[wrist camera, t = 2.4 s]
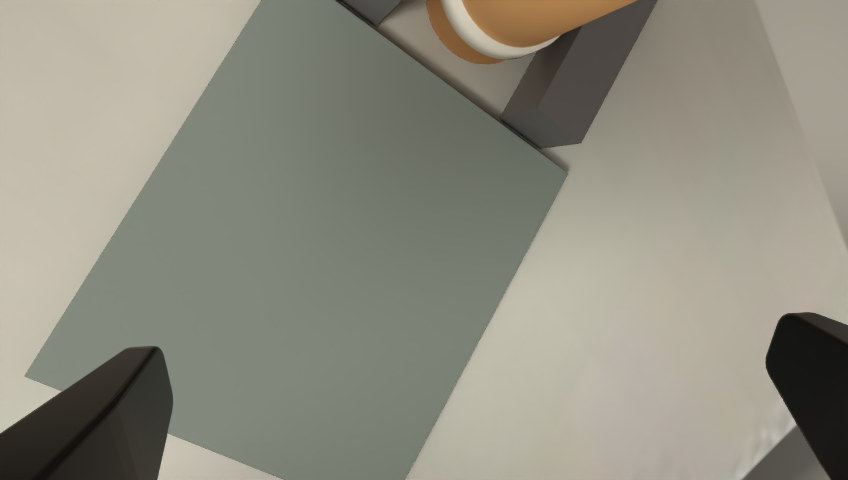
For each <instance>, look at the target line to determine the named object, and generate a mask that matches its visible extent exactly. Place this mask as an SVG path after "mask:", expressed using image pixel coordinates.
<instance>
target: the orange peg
mask: <svg viewBox="0 0 848 480" xmlns="http://www.w3.org/2000/svg"><path fill="white" fill-rule="evenodd" d="M635 1H637V0H426V5H427V11H428V15H429V18H430V21H431V24H432V26H433V28H434V30H435V32H436V34H437V35H438V37H439V38H440V40H441V41H442V42H443V43H444V45H445V46H446V47H447V48H448V49H449V50H451V51H452V52H453V53H454V54H456V55H457V56H459V57H460V58H462V59H464V60H467V61H470V62H472V63H477V64H494V63H498V62H501V61H503V60H505V59H516V58H520V57H523V56H526V55H528V54H530V53H533V52H535V51H537V50H540V49H542V48H544V47H546V46H548V45H549V44H551V43H553V42H554V41H555V40H556V39H557V38H558V37H559V36H560V35H561V34H564V33H566V32H568V31H570V30H573V29H575V28H577V27H579V26H582V25H584V24H586V23H588V22H590V21H593V20H595V19H597V18H599V17H602V16H604V15H606V14H608V13H611V12H613V11H615V10H617V9H620V8H622V7H624V6H626V5H628V4H631V3H633V2H635Z"/></svg>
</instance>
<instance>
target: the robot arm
mask: <svg viewBox="0 0 848 480" xmlns="http://www.w3.org/2000/svg"><path fill="white" fill-rule="evenodd" d="M766 369H767V372H768V374H769V376H770V378H771V380H772V382H773V383H774V385H775V387H776V389H777V390H778V392H779V394H780V396H781V397H782V399H783V401H784V403H785V404H786V406H787V408H788V410H789V411H790V413H791V415H792V417H793V418H794V420H795V422H796V424H797V425H798V427H799V429H800V431H801V432H802V434H803V436H804V438H805V439H806V441H807V443H808V445H809V446H810V448H811V450H812V451H813V453H814V455H815V456H816V458H817V460H818V462H819V463H820V465H821V466H822V468H823V469H824V471H825V472H826V474H827V475H828V477H829V478H830V480H848V325H846V324H843V323H840V322H838V321H835V320H832V319H830V318H827V317H824V316H822V315H819V314H816V313H811V312H804V313H788V314H785V315H783V316H782V317H781V318H780V319H779V321H778V323H777V326H776V329H775V332H774V335H773V337H772V340H771V343H770V346H769V349H768V352H767V355H766ZM172 410H173V392H172V387H171V383H170V379H169V374H168V370H167V366H166V361H165V357H164V354H163V352H162V350H161V349H160V348H159V347H157V346H139V347H128V348H126V349H124V350H122V351H121V352H119V353H118V354H116V355H115V356H114V357H112V358H111V359H109V360H108V361H106V362H105V363H103V364H102V365H100V366H99V367H97V368H96V369H94V370H93V371H91V372H90V373H89V374H87V375H86V376H84V377H83V378H81V379H80V380H78V381H77V382H75V383H74V384H72V385H71V386H69V387H68V388H66V389H65V390H64V391H62V392H61V393H59V394H58V395H56V396H55V397H53V398H52V399H50V400H49V401H47V402H46V403H44V404H43V405H41V406H40V407H39V408H37V409H36V410H34V411H33V412H31V413H30V414H28V415H27V416H25V417H24V418H22V419H21V420H19V421H18V422H16V423H15V424H14V425H12V426H11V427H9V428H8V429H6V430H5V431H3V432H2V433H0V480H157V479H158V474H159V470H160V465H161V461H162V456H163V451H164V447H165V442H166V438H167V433H168V429H169V424H170V420H171V415H172Z"/></svg>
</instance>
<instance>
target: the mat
mask: <svg viewBox="0 0 848 480" xmlns="http://www.w3.org/2000/svg"><path fill="white" fill-rule="evenodd" d="M567 175H568V173H567V172H565V171H564V170H563V169H561V168H560V167H558V166H557V165H556V164H554V163H553V162H552V161H550V160H549V159H548V158H546V157H545V156H544V155H542V154H541V153H540V152H538V151H537V150H536V149H534V148H533V147H532V146H530V145H529V144H528V143H526V142H525V141H523V140H522V139H521V138H519V137H518V136H517V135H515V134H514V133H513V132H511V131H510V130H509V129H507V128H506V127H505V126H503V125H502V124H501V123H499V122H498V121H497V120H495V119H494V118H493V117H491V116H490V115H489V114H487V113H486V112H484V111H483V110H482V109H480V108H479V107H478V106H476V105H475V104H474V103H472V102H471V101H470V100H468V99H467V98H466V97H464V96H463V95H462V94H460V93H459V92H458V91H456V90H455V89H454V88H452V87H451V86H449V85H448V84H447V83H445V82H444V81H443V80H441V79H440V78H439V77H437V76H436V75H435V74H433V73H432V72H431V71H429V70H428V69H427V68H425V67H424V66H423V65H421V64H420V63H419V62H417V61H416V60H414V59H413V58H412V57H410V56H409V55H408V54H406V53H405V52H404V51H402V50H401V49H400V48H398V47H397V46H396V45H394V44H393V43H392V42H390V41H389V40H388V39H386V38H385V37H384V36H382V35H381V34H379V33H378V32H377V31H375V30H374V29H373V28H371V27H370V26H369V25H367V24H366V23H365V22H363V21H362V20H361V19H359V18H358V17H357V16H355V15H354V14H353V13H351V12H350V11H349V10H347V9H346V8H344V7H343V6H342V5H340V4H339V3H338V2H336V1H335V0H261V2H260V3H259V5H258V6H257V8H256V10H255V11H254V13H253V14H252V16H251V17H250V19H249V21H248V22H247V24H246V25H245V27H244V29H243V30H242V32H241V33H240V35H239V36H238V38H237V40H236V41H235V43H234V44H233V46H232V48H231V49H230V51H229V52H228V54H227V56H226V57H225V59H224V60H223V62H222V63H221V65H220V67H219V68H218V70H217V71H216V73H215V75H214V76H213V78H212V79H211V81H210V82H209V84H208V86H207V87H206V89H205V90H204V92H203V94H202V95H201V97H200V98H199V100H198V101H197V103H196V105H195V106H194V108H193V109H192V111H191V113H190V114H189V116H188V117H187V119H186V121H185V122H184V124H183V125H182V127H181V128H180V130H179V132H178V133H177V135H176V136H175V138H174V140H173V141H172V143H171V144H170V146H169V147H168V149H167V151H166V152H165V154H164V155H163V157H162V159H161V160H160V162H159V163H158V165H157V166H156V168H155V170H154V171H153V173H152V174H151V176H150V178H149V179H148V181H147V182H146V184H145V186H144V187H143V189H142V190H141V192H140V193H139V195H138V197H137V198H136V200H135V201H134V203H133V205H132V206H131V208H130V209H129V211H128V212H127V214H126V216H125V217H124V219H123V220H122V222H121V224H120V225H119V227H118V228H117V230H116V232H115V233H114V235H113V236H112V238H111V239H110V241H109V243H108V244H107V246H106V247H105V249H104V251H103V252H102V254H101V255H100V257H99V258H98V260H97V262H96V263H95V265H94V266H93V268H92V270H91V271H90V273H89V274H88V276H87V277H86V279H85V281H84V282H83V284H82V285H81V287H80V289H79V290H78V292H77V293H76V295H75V297H74V298H73V300H72V301H71V303H70V304H69V306H68V308H67V309H66V311H65V312H64V314H63V316H62V317H61V319H60V320H59V322H58V323H57V325H56V327H55V328H54V330H53V331H52V333H51V335H50V336H49V338H48V339H47V341H46V343H45V344H44V346H43V347H42V349H41V350H40V352H39V354H38V355H37V357H36V358H35V360H34V362H33V363H32V365H31V366H30V368H29V369H28V371H27V373H26V374H25V377H27V378H30V379H32V380H35V381H37V382H40V383H42V384H45V385H47V386H50V387H52V388H55V389H58V390H60V391H64V390H65V389H66V388H68V387H69V386H71V385H72V384H74V383H75V382H77V381H78V380H80V379H81V378H83V377H84V376H86V375H87V374H89V373H90V372H91V371H93V370H94V369H96V368H97V367H99V366H100V365H102V364H103V363H105V362H106V361H108V360H109V359H111V358H112V357H114V356H115V355H116V354H118V353H119V352H121V351H122V350H124V349H126V348H128V347H139V346H157V347H159V348H160V349H161V350H162V352H163V354H164V357H165V361H166V366H167V370H168V374H169V379H170V383H171V387H172V392H173V410H172V415H171V420H170V424H169V429H168V434H171V435H173V436H176V437H178V438H181V439H183V440H186V441H188V442H191V443H193V444H196V445H198V446H201V447H203V448H206V449H208V450H211V451H213V452H216V453H218V454H221V455H223V456H226V457H228V458H231V459H233V460H236V461H238V462H241V463H243V464H246V465H248V466H251V467H253V468H256V469H258V470H261V471H263V472H266V473H268V474H271V475H274V476H276V477H279V478H281V479H284V480H405V478H406V476H407V474H408V473H409V471H410V469H411V467H412V465H413V463H414V461H415V459H416V458H417V456H418V454H419V452H420V450H421V448H422V446H423V445H424V443H425V441H426V439H427V437H428V435H429V433H430V431H431V430H432V428H433V426H434V424H435V422H436V420H437V418H438V416H439V415H440V413H441V411H442V409H443V407H444V405H445V403H446V401H447V400H448V398H449V396H450V394H451V392H452V390H453V388H454V387H455V385H456V383H457V381H458V379H459V377H460V375H461V373H462V372H463V370H464V368H465V366H466V364H467V362H468V360H469V358H470V357H471V355H472V353H473V351H474V349H475V347H476V345H477V343H478V342H479V340H480V338H481V336H482V334H483V332H484V330H485V329H486V327H487V325H488V323H489V321H490V319H491V317H492V315H493V314H494V312H495V310H496V308H497V306H498V304H499V302H500V300H501V299H502V297H503V295H504V293H505V291H506V289H507V287H508V286H509V284H510V282H511V280H512V278H513V276H514V274H515V272H516V271H517V269H518V267H519V265H520V263H521V261H522V259H523V257H524V256H525V254H526V252H527V250H528V248H529V246H530V244H531V242H532V241H533V239H534V237H535V235H536V233H537V231H538V229H539V228H540V226H541V224H542V222H543V220H544V218H545V216H546V214H547V213H548V211H549V209H550V207H551V205H552V203H553V201H554V199H555V198H556V196H557V194H558V192H559V190H560V188H561V186H562V185H563V183H564V181H565V179H566V177H567Z"/></svg>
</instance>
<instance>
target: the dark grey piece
mask: <svg viewBox="0 0 848 480" xmlns="http://www.w3.org/2000/svg"><path fill="white" fill-rule="evenodd" d="M342 1H343V2H345V3H346V4H347V5H349V6H350V7H351V8H353V9H354V10H355V11H357V12H358V13H359V14H361V15H362V16H363V17H365V18H366V19H367V20H369V21H370V22H371V23H373V24H374V25H377V24H378V23H379V22H380V21H381V20H382V19H383V18H384V17H385V16H386V15H388V14H389V13H390V12H391V11H392V10H393V9H394V8H395V7H396V6H397V5H398V4H399V3H400V1H401V0H342ZM656 2H657V0H637V1H635V2H633V3H631V4H628V5H626V6H624V7H622V8H620V9H617V10H615V11H613V12H611V13H608V14H606V15H604V16H602V17H599V18H597V19H595V20H593V21H590V22H588V23H586V24H584V25H582V26H579V27H577V28H575V29H573V30H570V31H568V32H566V33H564V34H561V35H560V36H559V37H558V38H557V39H556V40H555V41H554V42H553V43H551V44H549V45H548V46H546V47H544V48H542V49H540V50H538V51H537V53H536V55H535V56H534V58H533V60H532V62H531V64H530V65H529V67H528V69H527V71H526V73H525V74H524V76H523V78H522V80H521V81H520V83H519V85H518V87H517V89H516V90H515V92H514V94H513V96H512V98H511V99H510V101H509V103H508V105H507V107H506V108H505V110H504V112H503V114H502V116H501V117H500V119H501V120H503V121H504V122H505V123H507V124H508V125H509V126H511V127H512V128H513V129H515V130H516V131H517V132H519V133H520V134H522V135H523V136H524V137H526V138H527V139H528V140H530V141H531V142H532V143H534V144H535V145H536V146H538V147H539V148H540V149H542V148H549V147H556V146H564V145H571V144H579V143H581V142H582V140H583V139H584V137H585V135H586V133H587V131H588V129H589V127H590V125H591V124H592V122H593V120H594V118H595V116H596V114H597V112H598V111H599V109H600V107H601V105H602V103H603V101H604V99H605V97H606V96H607V94H608V92H609V90H610V88H611V86H612V84H613V83H614V81H615V79H616V77H617V75H618V73H619V71H620V69H621V68H622V66H623V64H624V62H625V60H626V58H627V56H628V54H629V53H630V51H631V49H632V47H633V45H634V43H635V41H636V40H637V38H638V36H639V34H640V32H641V30H642V28H643V26H644V25H645V23H646V21H647V19H648V17H649V15H650V13H651V12H652V10H653V8H654V6H655V4H656Z"/></svg>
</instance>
